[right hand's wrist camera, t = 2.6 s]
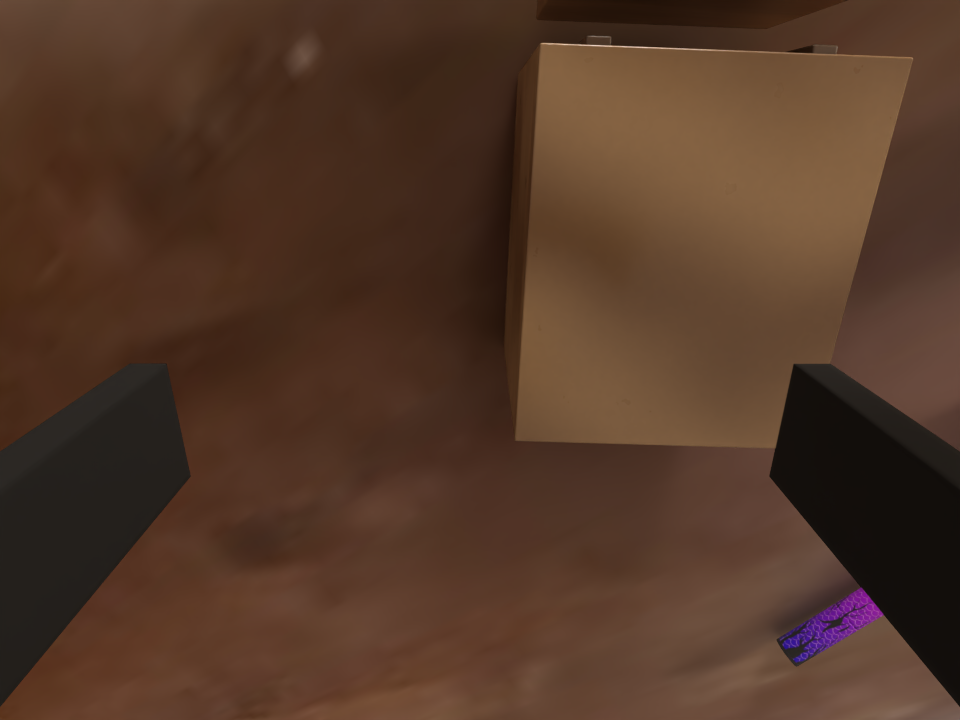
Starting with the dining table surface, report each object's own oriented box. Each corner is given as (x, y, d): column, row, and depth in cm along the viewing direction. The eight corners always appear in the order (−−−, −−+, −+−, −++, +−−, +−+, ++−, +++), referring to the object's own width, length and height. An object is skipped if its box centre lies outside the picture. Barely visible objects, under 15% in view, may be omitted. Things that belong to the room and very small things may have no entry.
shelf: (549, -196, 22) (585, -364, 15) (806, -185, 23) (974, -345, 15) (521, 268, 29) (536, 317, 21) (720, 275, 29) (805, 326, 22)
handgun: (1027, 377, 32) (1059, 391, 31) (1088, 464, 34) (1122, 482, 32) (721, 584, 37) (733, 607, 36) (789, 650, 39) (804, 675, 38)
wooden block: (517, 73, 27) (540, 42, 17) (760, 82, 27) (914, 57, 17) (503, 347, 32) (514, 441, 22) (708, 353, 32) (807, 449, 22)
